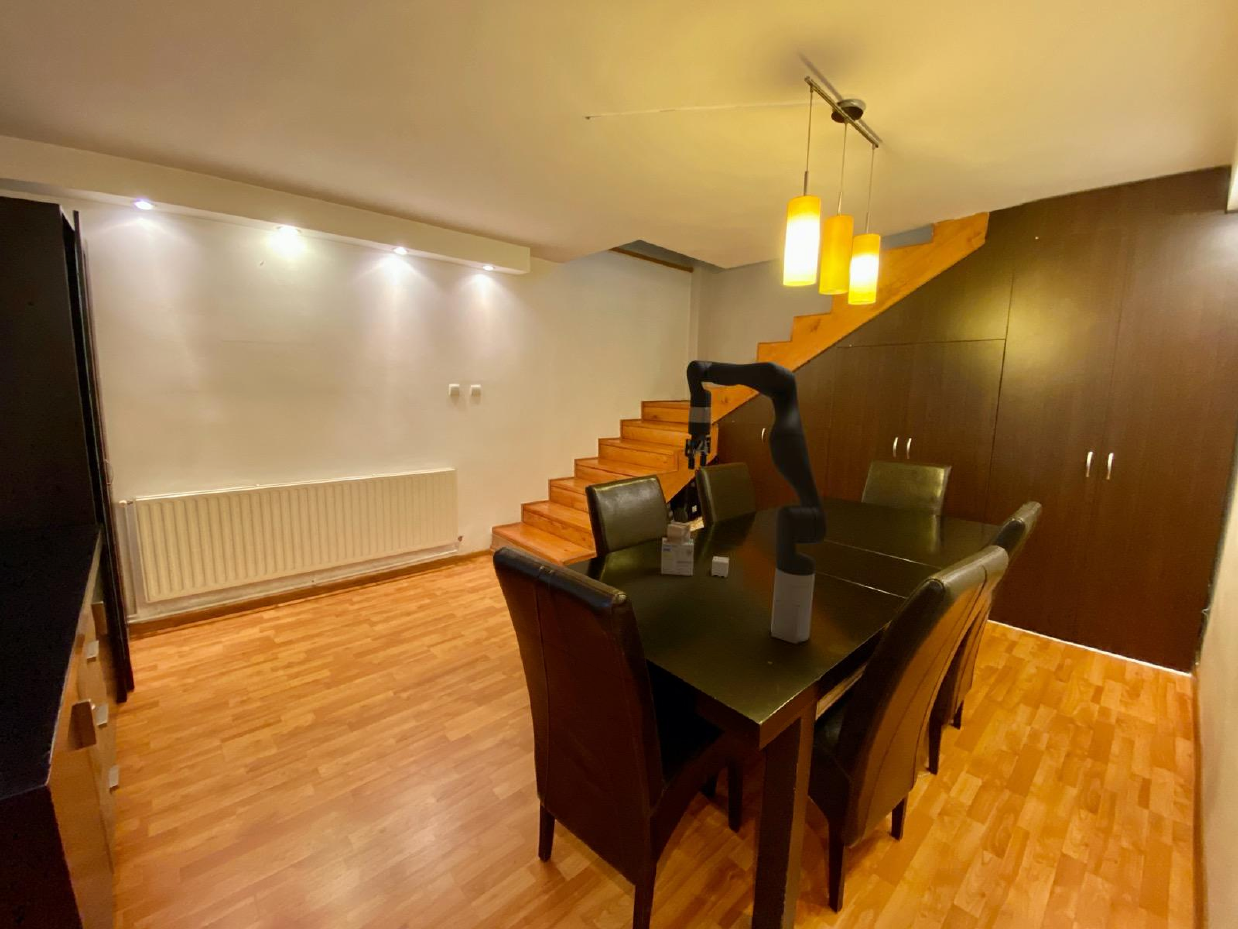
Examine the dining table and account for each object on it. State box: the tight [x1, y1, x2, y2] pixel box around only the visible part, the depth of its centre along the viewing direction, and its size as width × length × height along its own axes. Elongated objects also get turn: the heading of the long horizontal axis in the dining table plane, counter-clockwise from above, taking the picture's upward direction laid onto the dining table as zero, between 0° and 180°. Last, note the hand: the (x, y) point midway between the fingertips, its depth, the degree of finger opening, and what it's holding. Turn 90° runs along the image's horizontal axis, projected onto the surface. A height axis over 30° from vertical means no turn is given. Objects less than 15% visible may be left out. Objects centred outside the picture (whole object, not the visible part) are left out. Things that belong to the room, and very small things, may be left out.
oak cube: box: [666, 521, 692, 544], centre depth 165 cm, size 6×6×6 cm
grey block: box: [711, 556, 730, 578], centre depth 166 cm, size 5×5×5 cm
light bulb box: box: [660, 537, 695, 577], centre depth 166 cm, size 11×7×11 cm, turn 84°
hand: (697, 467), depth 171 cm, fingers open, 8 cm apart
